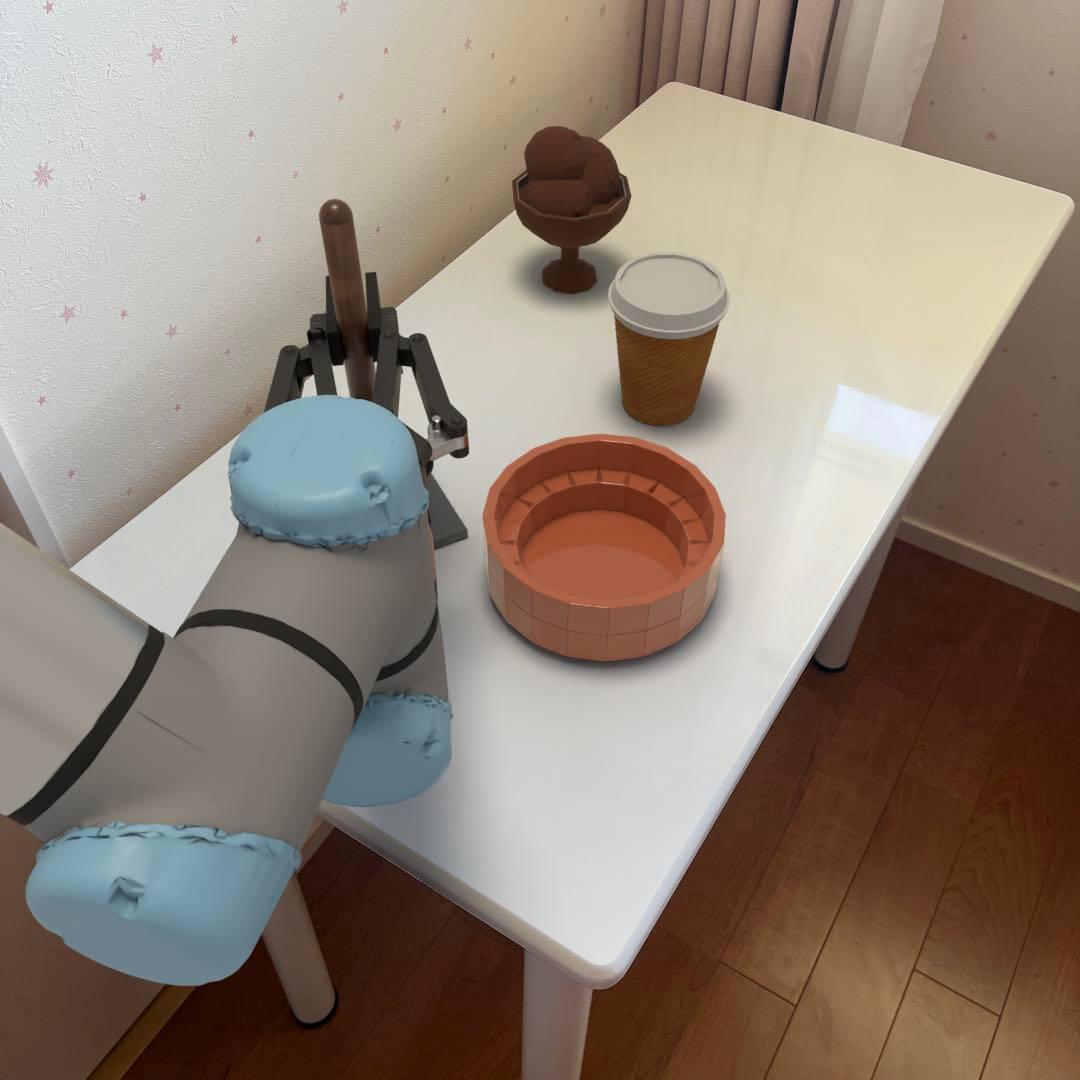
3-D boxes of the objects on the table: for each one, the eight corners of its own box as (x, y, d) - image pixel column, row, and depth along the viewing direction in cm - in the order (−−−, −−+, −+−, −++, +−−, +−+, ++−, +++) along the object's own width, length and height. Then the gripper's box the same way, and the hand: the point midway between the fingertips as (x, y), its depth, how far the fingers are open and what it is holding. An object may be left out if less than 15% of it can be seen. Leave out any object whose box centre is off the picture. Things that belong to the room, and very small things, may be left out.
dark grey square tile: (343, 582, 80) (342, 575, 80) (299, 496, 87) (297, 489, 86) (468, 536, 84) (467, 529, 83) (417, 457, 90) (416, 449, 89)
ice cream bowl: (565, 324, 102) (567, 174, 91) (491, 272, 108) (484, 125, 97) (648, 282, 106) (660, 134, 95) (573, 234, 112) (576, 89, 101)
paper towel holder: (350, 526, 79) (295, 244, 62) (318, 467, 83) (258, 188, 67) (439, 495, 81) (410, 214, 64) (404, 438, 85) (367, 161, 69)
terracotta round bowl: (552, 703, 73) (552, 643, 68) (451, 540, 83) (445, 477, 79) (759, 614, 78) (773, 553, 74) (640, 471, 88) (646, 408, 84)
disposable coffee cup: (720, 439, 91) (739, 318, 82) (604, 439, 91) (611, 318, 82) (708, 367, 97) (724, 248, 89) (600, 367, 98) (606, 248, 89)
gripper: (238, 594, 63) (254, 344, 79) (501, 565, 64) (464, 325, 80) (208, 500, 57) (231, 252, 73) (497, 471, 59) (458, 233, 74)
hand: (353, 290), depth 77 cm, fingers closed on paper towel holder, 2 cm apart
